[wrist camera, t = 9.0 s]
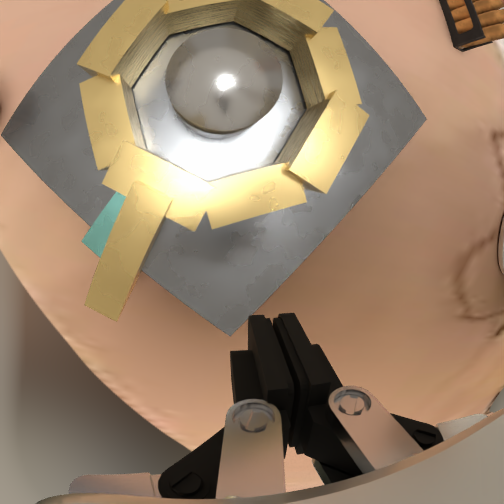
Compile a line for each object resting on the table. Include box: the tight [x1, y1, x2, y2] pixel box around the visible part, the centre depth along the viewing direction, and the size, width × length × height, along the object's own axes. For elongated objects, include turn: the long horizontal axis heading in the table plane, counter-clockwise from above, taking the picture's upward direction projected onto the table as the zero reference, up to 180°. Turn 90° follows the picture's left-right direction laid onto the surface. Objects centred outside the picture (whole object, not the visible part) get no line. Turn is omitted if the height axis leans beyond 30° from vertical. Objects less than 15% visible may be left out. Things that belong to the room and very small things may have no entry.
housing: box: [1, 0, 426, 336], centre depth 15 cm, size 24×25×6 cm
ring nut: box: [77, 0, 370, 322], centre depth 14 cm, size 21×15×5 cm
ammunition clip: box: [439, 0, 504, 52], centre depth 12 cm, size 11×2×12 cm, turn 3°
